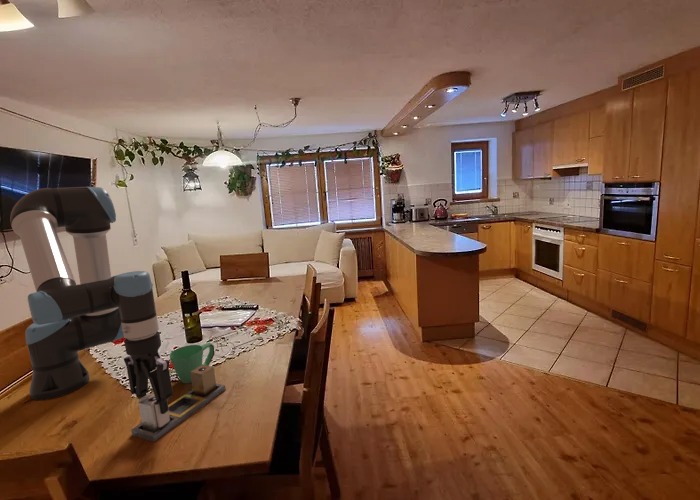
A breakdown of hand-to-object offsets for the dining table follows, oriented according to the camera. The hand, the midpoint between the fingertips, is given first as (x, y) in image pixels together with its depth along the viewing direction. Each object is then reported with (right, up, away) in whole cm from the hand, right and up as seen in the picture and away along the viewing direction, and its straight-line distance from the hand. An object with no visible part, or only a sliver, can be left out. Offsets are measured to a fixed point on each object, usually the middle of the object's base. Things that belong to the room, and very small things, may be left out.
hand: (156, 421), depth 90 cm
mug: (-1, +2, +27) cm, 27 cm away
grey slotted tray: (+3, -1, +8) cm, 8 cm away
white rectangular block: (0, -2, 0) cm, 2 cm away
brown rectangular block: (+7, +1, +15) cm, 16 cm away
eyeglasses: (+3, +5, +52) cm, 52 cm away
